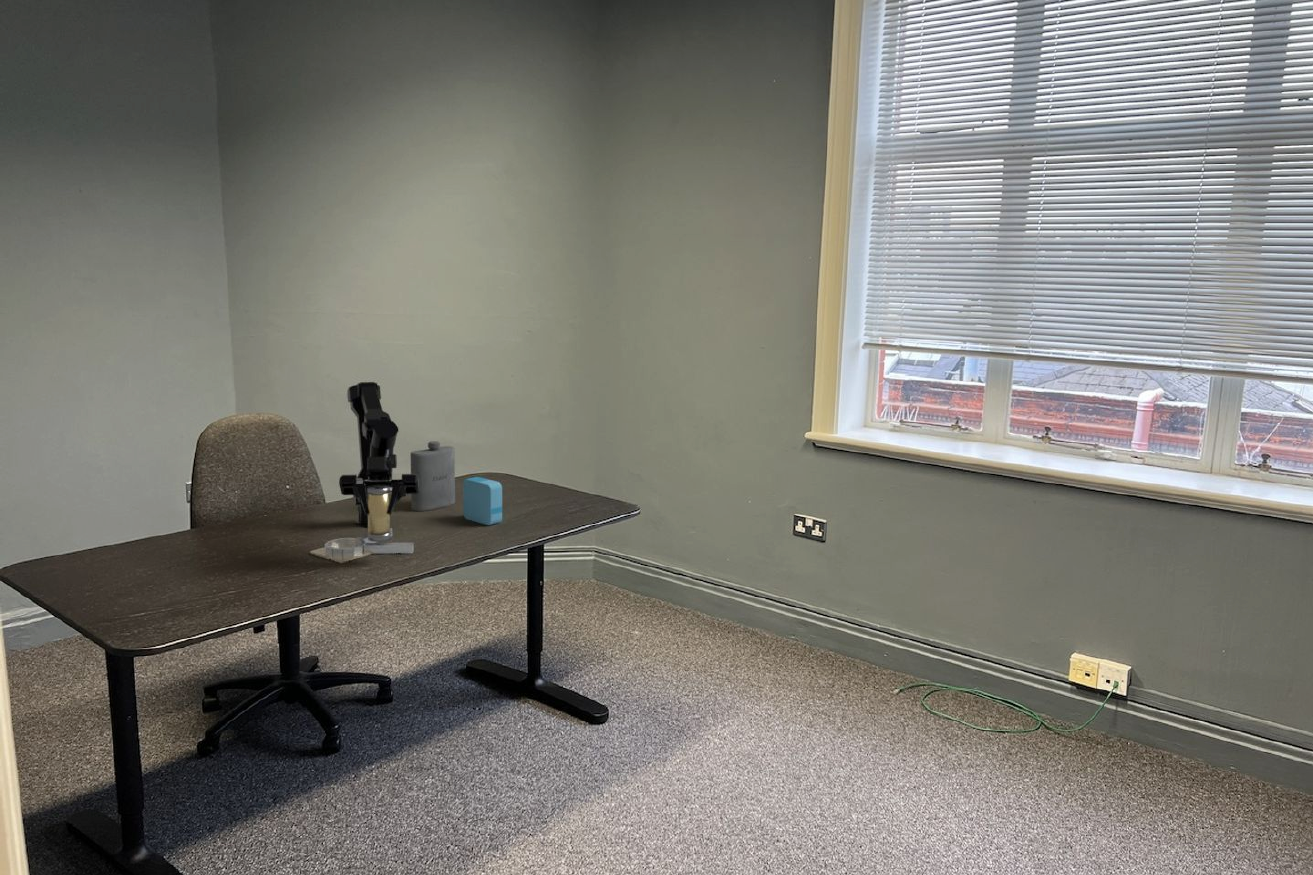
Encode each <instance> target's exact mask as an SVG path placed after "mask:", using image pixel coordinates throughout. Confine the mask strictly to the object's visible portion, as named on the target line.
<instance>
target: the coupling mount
mask: <svg viewBox="0 0 1313 875" xmlns="http://www.w3.org/2000/svg"><path fill="white" fill-rule="evenodd" d="M390 531H391V538H392V537H393V535H394V534H393V528H392V527H390ZM413 552H414V542H374V541H369V540H368V533H366V534H364V535H361V536H359V537H340V538H334V539H331V540H328V541H327V542H326V543H324V547H320V548H317V549H313V550H310V551H309V554H310V553H311V554H310V555H313V554H314V556H317V557H320V558H323V559H327V560H329V559H331V560H330V561H333V560H334V561H333V562H337V563H340V564H343V563H346V562H350V561H352V560H355V559H360V558H363V557H366V556H369V555H372V554H375V555H377V554H378V555H380V554H381V555H382V554H386V555H390V554H396V553H397V555H398V553H401V554H413ZM349 560H350V561H349Z"/></svg>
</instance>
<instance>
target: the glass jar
mask: <svg viewBox="0 0 1313 875" xmlns="http://www.w3.org/2000/svg"><path fill="white" fill-rule="evenodd" d="M366 489H367V508H368V527H367V534H368V540H369V541H374V542H376V543H382V542H388V541H389V540H390V539H391V538H392V537H391V531H390V528H391V519H390V518H391V515H389V505H390V490H391V488H390V487H389V486H388V485H371V486H368V487H367V488H366Z"/></svg>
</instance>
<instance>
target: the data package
mask: <svg viewBox="0 0 1313 875" xmlns="http://www.w3.org/2000/svg"><path fill="white" fill-rule="evenodd" d="M462 503H463V504H462V506H463V507H462V509H463V511H462V514H463V516H464V517H463V518H465V519H466V520H467V521H471V520H472V522H474V521H475V522H476V523H478V524H481V525H486V526H491V525H495V524H499V523H501V522H502V520H503V486H502V484H501V483H500V482H499V481H496V480H491V479H488V478H484V477H479V476H474V477H471V478H465V479H463V481H462Z"/></svg>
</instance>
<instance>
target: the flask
mask: <svg viewBox="0 0 1313 875" xmlns="http://www.w3.org/2000/svg"><path fill="white" fill-rule="evenodd" d="M427 447H428V449H421V450H420V449H419V450H413V451H412V452H410V474H417V475H418V480H419V493H417V494H410V495H411V497H410V498H411V510H412V511H413V510H414V512H426V511H427V512H429V511H433V509H434V510H437V508H439V509H443V508H446V507H449V506H452V504H453V505H454V504H455V503H456V476H455V475H456V471H455V470H456V469H455V466H456V465H455V464H456V462H455V447H453V446H448V445H444V446H441V443H440V442H439V441H436V440H434V441H433V440H432V441H429V442H428V443H427ZM442 507H443V508H442Z"/></svg>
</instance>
